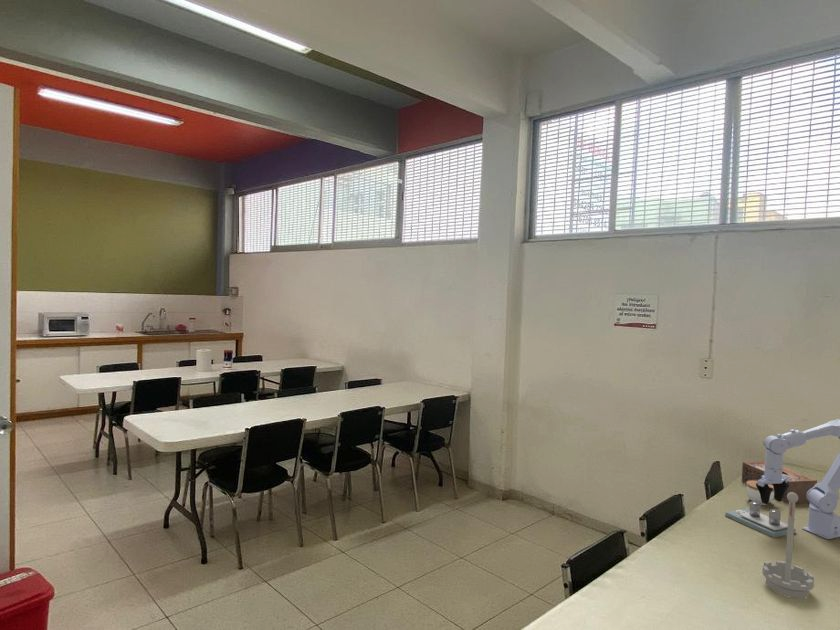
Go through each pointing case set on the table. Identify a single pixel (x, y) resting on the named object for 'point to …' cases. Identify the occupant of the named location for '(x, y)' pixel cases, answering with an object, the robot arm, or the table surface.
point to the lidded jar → (756, 492)
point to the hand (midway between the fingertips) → (771, 502)
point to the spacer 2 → (774, 517)
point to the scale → (758, 523)
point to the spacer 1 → (755, 509)
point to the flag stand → (788, 566)
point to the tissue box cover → (795, 480)
